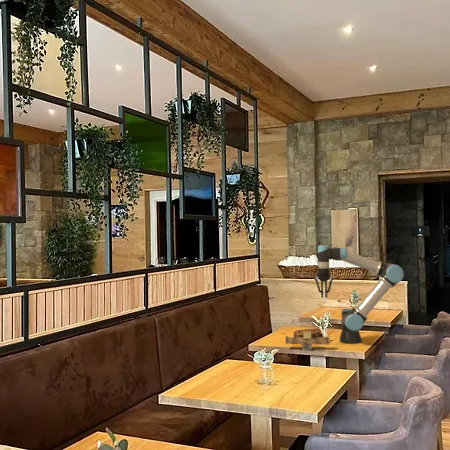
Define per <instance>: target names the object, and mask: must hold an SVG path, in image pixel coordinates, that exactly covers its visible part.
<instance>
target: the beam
mask: <svg viewBox="0 0 450 450" xmlns="http://www.w3.org/2000/svg"><path fill="white" fill-rule="evenodd" d="M329 341H330V340H329V336H326V337H323V338H311V339H304V337H294V336H291V337H290V336H288V335H287V336H285V344H286V345H297V344H302V345H301V346H302V351H309V352H312V350H313V349H312V348H313V346H312V345H328V346H329V343H330V342H329Z"/></svg>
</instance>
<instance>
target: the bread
mask: <svg viewBox="0 0 450 450" xmlns="http://www.w3.org/2000/svg"><path fill="white" fill-rule="evenodd" d="M304 332H311V338H324V336H323V335H324V334H323V332H322V331H321V329H320V328H306V329H298V330H297V329H296V330H294V332H293V337H304V336H303V333H304Z"/></svg>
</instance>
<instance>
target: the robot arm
mask: <svg viewBox="0 0 450 450" xmlns="http://www.w3.org/2000/svg"><path fill="white" fill-rule="evenodd" d="M347 250H348V249H347V248H345V247H337V246H333V247H330V246H329V245H324V244H323V245H318V246H317V276H316V277H315V278H314V281H315V282H316V283H315V284H316V287H317V290H318V293H320V295H321V296H320V297H321V299H322V303H326V299H328V293H330V292H331V288H332V283H333V280H334V278H333V277H332V276H331V275H330V260H340V261H341V262H346V263H348V264H351V265H352V266H353V265H354V266H356V267H359V268H362V269H364V270H367V271H371V272H372V273H374V274H376V275H377V276H379V277H378V278H379V279H378V281H377V282H376V284H375V285H374V286H373V287H372V288H371V289H370V291H369V292H368V293H367V294H366V295H365V296H364V298H363V299H362V301H360V302H359V304H358V305H357V306H354V307H353V308H342V309H341V312H340V314H341V332H340V335H339V342H340V343H344V344H360V343H362V337H361V333H360V330H361V329H363V327H364V323H365V322H366V321H367V319H368V315H369V314H370V312H372V310H374V308H375V306H376V305H378V303H379V302H380V300H382V298H383V297H384V296H385V294H386V293H387V292H388V291H389V290H390V289H392V288H394V287H395V286H396V285H397V284H399V283H400V282H402V280H403V279H404V277H405V272H404V270H403V268H402V267H401V266H400V265H398V264H394V263H387V262H383V261H377V260H374V259H371V258H367V257H366V256H365V257H364V256H362V255H359V254H357V253H353V252H351V251H347ZM318 280H319V281H320V283H319V281H318ZM328 281H329V282H328ZM328 283H329V284H328ZM319 284H320V285H319Z"/></svg>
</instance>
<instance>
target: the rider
mask: <svg viewBox="0 0 450 450" xmlns="http://www.w3.org/2000/svg"><path fill="white" fill-rule="evenodd" d="M303 336H304V339H311V332H304V333H303Z"/></svg>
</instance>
